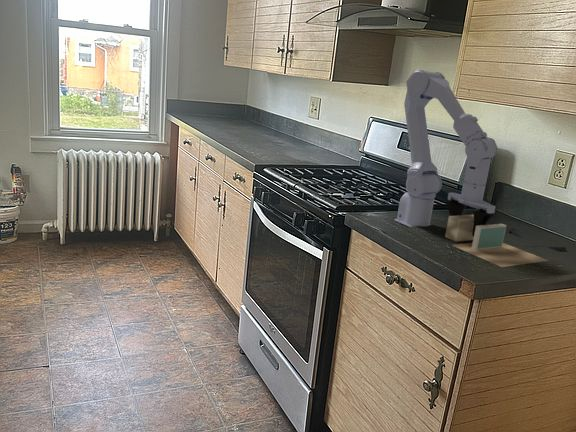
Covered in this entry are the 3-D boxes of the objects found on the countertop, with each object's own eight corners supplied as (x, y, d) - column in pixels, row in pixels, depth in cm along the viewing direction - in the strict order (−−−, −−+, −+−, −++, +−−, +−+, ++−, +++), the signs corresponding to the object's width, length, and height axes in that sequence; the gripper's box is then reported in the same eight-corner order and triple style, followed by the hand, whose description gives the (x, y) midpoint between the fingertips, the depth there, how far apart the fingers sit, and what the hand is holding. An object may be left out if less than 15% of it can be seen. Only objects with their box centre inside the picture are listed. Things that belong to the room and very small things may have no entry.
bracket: (528, 236, 166) (530, 227, 165) (565, 253, 152) (567, 243, 152) (488, 236, 161) (490, 227, 161) (523, 253, 148) (525, 243, 147)
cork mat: (450, 248, 142) (451, 244, 142) (496, 243, 151) (497, 240, 151) (501, 271, 129) (502, 267, 129) (547, 264, 138) (548, 260, 138)
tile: (471, 247, 141) (476, 225, 140) (497, 245, 146) (501, 223, 145) (476, 250, 140) (481, 227, 138) (502, 247, 145) (507, 225, 143)
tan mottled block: (444, 240, 149) (449, 216, 147) (469, 238, 154) (474, 214, 152) (455, 245, 146) (460, 220, 144) (480, 242, 151) (485, 218, 149)
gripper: (443, 177, 150) (434, 224, 153) (486, 189, 138) (475, 241, 141) (461, 177, 153) (452, 223, 157) (504, 189, 141) (493, 239, 145)
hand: (464, 231), depth 149 cm, fingers open, 7 cm apart
